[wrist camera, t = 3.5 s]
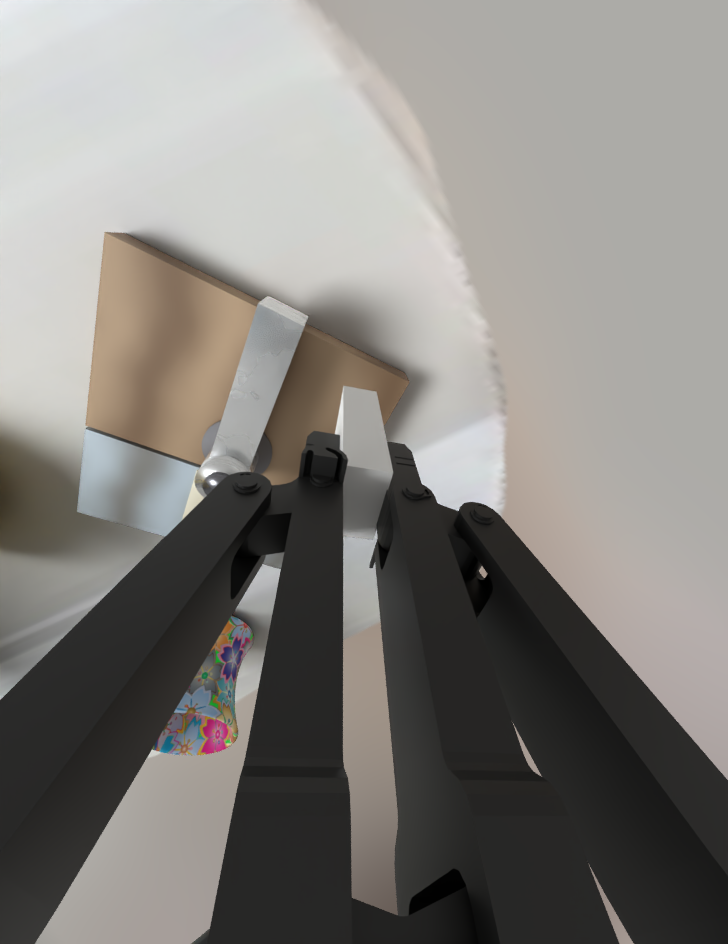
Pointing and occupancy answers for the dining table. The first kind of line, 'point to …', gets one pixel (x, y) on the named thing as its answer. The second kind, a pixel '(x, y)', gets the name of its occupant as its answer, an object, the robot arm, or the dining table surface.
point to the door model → (193, 388)
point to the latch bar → (253, 392)
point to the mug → (209, 699)
